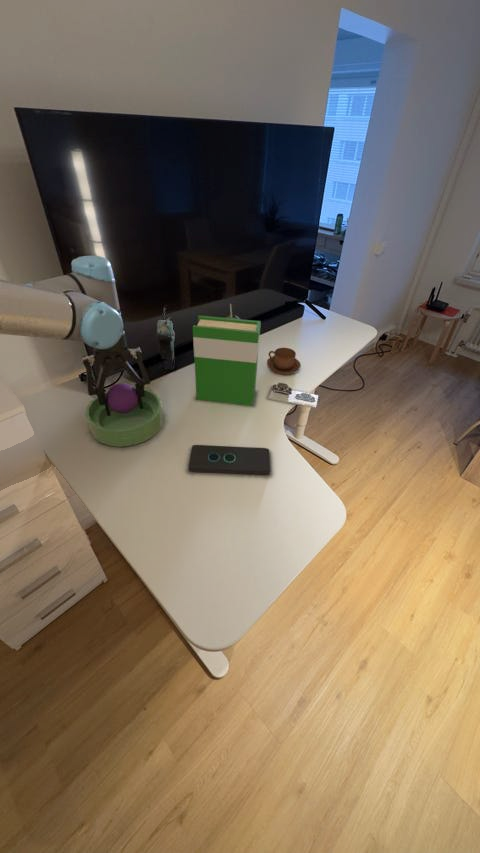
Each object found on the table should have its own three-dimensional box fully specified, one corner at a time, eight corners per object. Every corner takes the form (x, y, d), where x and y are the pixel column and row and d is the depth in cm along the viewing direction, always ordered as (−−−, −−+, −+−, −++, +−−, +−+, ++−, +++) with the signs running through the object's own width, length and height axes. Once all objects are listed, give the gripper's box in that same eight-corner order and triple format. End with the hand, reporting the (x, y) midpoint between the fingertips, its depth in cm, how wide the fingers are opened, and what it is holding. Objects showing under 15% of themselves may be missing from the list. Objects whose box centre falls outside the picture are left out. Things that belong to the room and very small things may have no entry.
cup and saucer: (264, 374, 119) (265, 358, 115) (268, 357, 128) (270, 342, 124) (298, 379, 118) (301, 363, 114) (300, 361, 127) (303, 346, 123)
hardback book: (196, 399, 107) (192, 326, 91) (201, 386, 112) (198, 315, 96) (252, 405, 105) (258, 332, 90) (255, 391, 111) (260, 321, 95)
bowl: (75, 435, 92) (69, 418, 88) (120, 396, 106) (116, 380, 102) (137, 456, 87) (134, 439, 83) (175, 412, 101) (174, 396, 97)
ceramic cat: (176, 372, 118) (170, 316, 105) (157, 372, 117) (149, 316, 104) (180, 345, 133) (176, 293, 120) (163, 344, 132) (157, 292, 119)
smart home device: (192, 443, 89) (269, 447, 89) (192, 448, 90) (268, 452, 90) (188, 467, 83) (270, 471, 83) (188, 472, 84) (269, 476, 84)
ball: (103, 414, 92) (96, 390, 86) (121, 398, 97) (116, 374, 92) (128, 422, 90) (123, 398, 84) (145, 405, 95) (141, 381, 90)
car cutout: (268, 398, 108) (269, 386, 106) (272, 387, 113) (274, 375, 110) (315, 408, 106) (318, 396, 103) (318, 396, 111) (320, 384, 108)
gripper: (148, 318, 84) (159, 393, 99) (57, 330, 77) (83, 409, 92) (155, 331, 79) (165, 408, 94) (58, 345, 72) (85, 426, 87)
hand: (124, 409), depth 93 cm, fingers closed on ball, 8 cm apart
